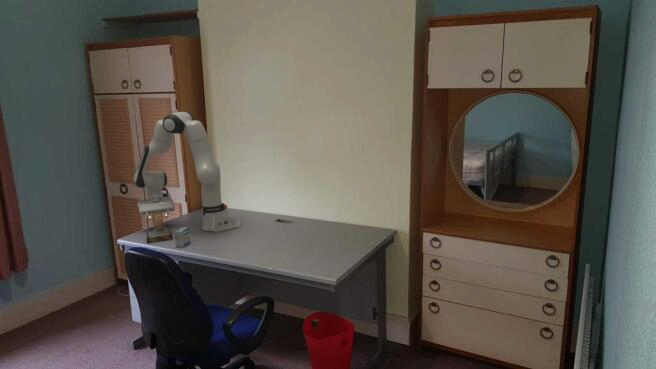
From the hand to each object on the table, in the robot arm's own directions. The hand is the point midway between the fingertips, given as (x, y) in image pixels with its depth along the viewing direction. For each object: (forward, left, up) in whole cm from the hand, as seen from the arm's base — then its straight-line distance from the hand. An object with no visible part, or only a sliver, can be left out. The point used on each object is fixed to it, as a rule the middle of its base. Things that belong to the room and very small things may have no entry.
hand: (158, 218), depth 272 cm
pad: (0, +1, -7) cm, 8 cm away
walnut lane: (+1, +14, -7) cm, 16 cm away
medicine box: (-10, +33, -8) cm, 35 cm away
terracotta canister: (0, +1, -7) cm, 7 cm away
